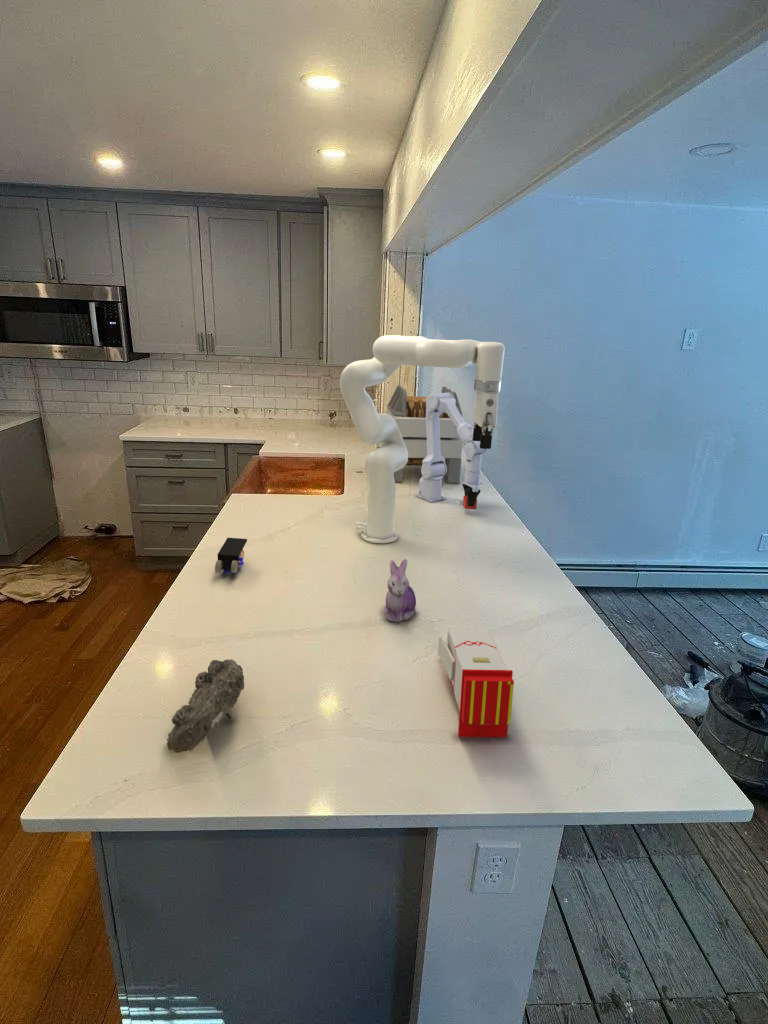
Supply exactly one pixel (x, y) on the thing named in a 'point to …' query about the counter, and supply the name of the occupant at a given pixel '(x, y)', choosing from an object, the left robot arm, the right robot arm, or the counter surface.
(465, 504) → the cube
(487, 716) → the toy
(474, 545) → the counter surface
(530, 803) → the counter surface
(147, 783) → the counter surface
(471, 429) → the right robot arm
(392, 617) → the figurine
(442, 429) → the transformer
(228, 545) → the figurine character
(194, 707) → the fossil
